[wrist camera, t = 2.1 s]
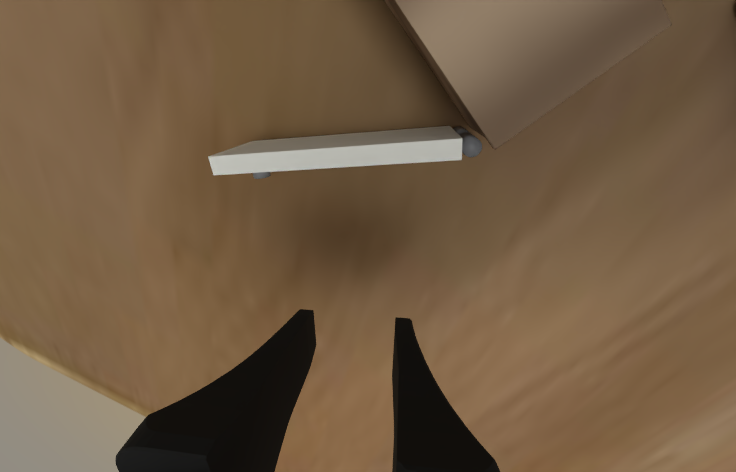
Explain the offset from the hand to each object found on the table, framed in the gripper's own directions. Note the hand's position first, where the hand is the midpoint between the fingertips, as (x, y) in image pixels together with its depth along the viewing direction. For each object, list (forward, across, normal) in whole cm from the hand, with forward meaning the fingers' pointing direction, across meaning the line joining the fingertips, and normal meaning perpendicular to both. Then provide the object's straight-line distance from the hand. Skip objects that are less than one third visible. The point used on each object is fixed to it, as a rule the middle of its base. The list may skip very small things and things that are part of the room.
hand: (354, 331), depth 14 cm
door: (+10, +1, -6) cm, 12 cm away
